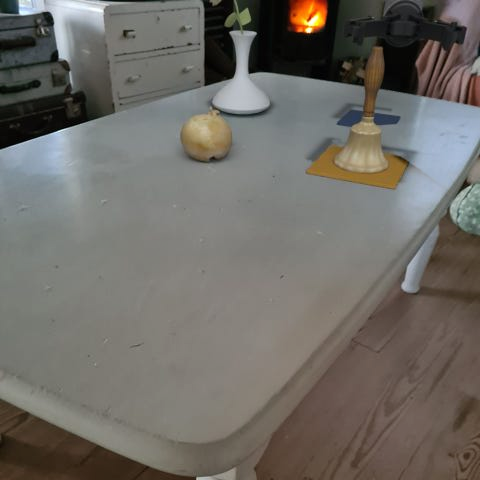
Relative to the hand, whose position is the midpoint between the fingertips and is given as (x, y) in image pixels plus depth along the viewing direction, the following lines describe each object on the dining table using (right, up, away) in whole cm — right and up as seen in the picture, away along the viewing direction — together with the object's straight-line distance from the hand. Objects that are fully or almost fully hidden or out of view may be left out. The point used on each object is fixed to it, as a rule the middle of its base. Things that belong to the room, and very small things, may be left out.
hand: (404, 38), depth 82 cm
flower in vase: (-26, -4, +20) cm, 33 cm away
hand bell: (-8, -21, -3) cm, 23 cm away
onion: (-31, -19, -1) cm, 37 cm away
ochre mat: (-8, -21, -3) cm, 23 cm away
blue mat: (-1, -7, +17) cm, 18 cm away
